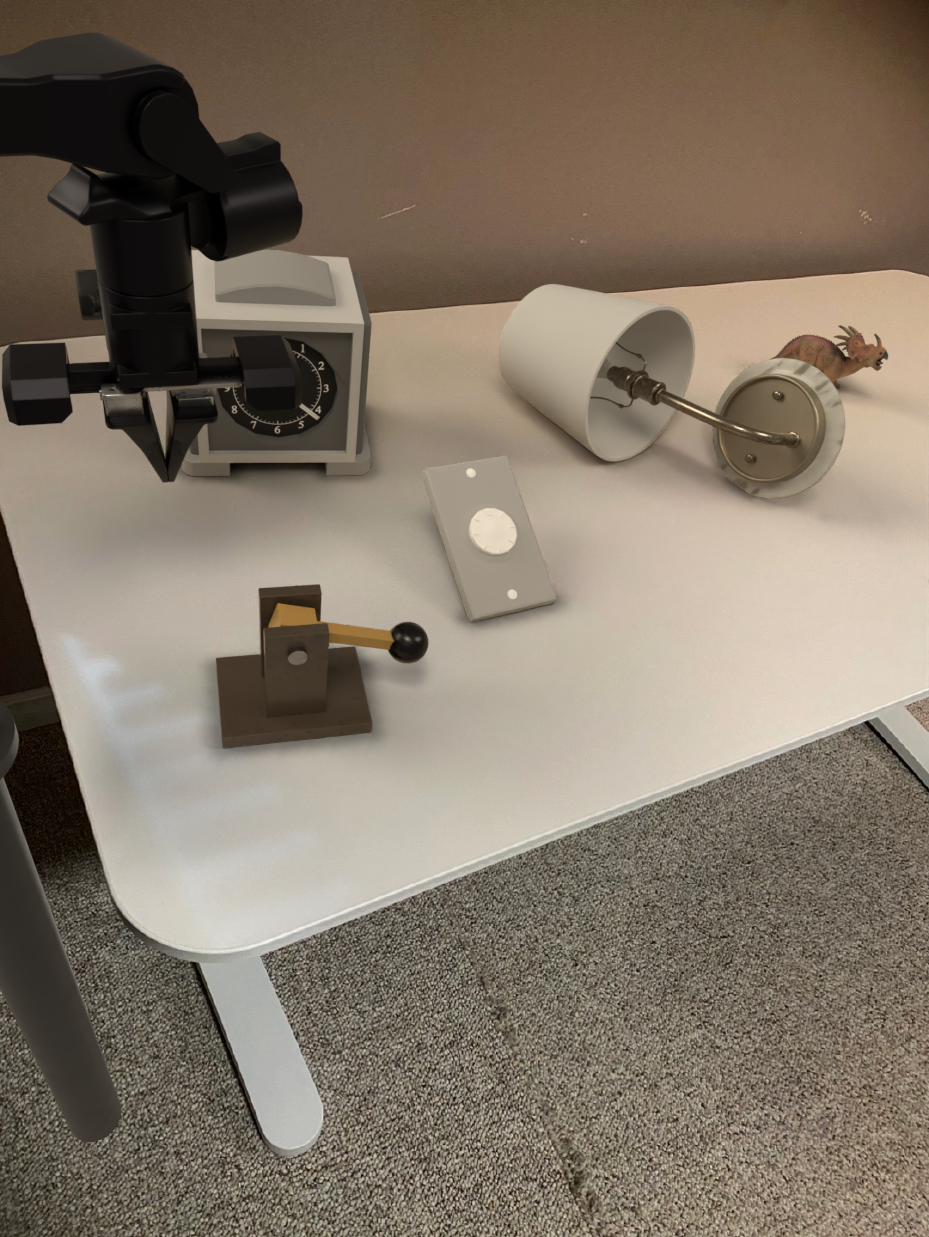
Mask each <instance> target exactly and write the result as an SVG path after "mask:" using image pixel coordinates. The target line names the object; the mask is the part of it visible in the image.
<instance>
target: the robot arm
mask: <svg viewBox="0 0 929 1237" xmlns="http://www.w3.org/2000/svg"><path fill="white" fill-rule="evenodd" d="M197 100H198V99H197V96H196V95H195V92H194V89H193V87H192V86H191V84H190V83H189V82H188V80H187V78H186V77H185V75H184V74H183V72H181V71H179V70H178V69H176V68H175V67H173V66H171V65H169V64H167V63H165V62H163V61H161V60H159V59H157V58H155V57H154V56H151V55H149V54H147V53H145V52H144V51H141V50H139V49H137V48H135V47H133V46H132V45H129V44H127V43H125V42H123V41H121V40H120V39H117V38H115V37H114V36H111V35H109V34H105V33H101V32H96V31H95V32H84V33H78V34H72V35H66V36H59V37H54V38H53V37H52V38H47V39H42V40H37V41H36V42H34V43H32V44H29V45H28V46H25V47H23V48H22V49H20V50H18V51H16V52H13V53H8V54H1V55H0V158H1V157H3V158H4V157H7V158H8V157H30V156H31V157H40V158H46V159H47V158H48V159H53V160H58V161H62V162H66V163H69V164H70V167H69V169H68V172H67V173H66V175H65V176H64V177H63V178H61V180H59V181H57V182H56V183H55V184H54V186H53V187H52V188H51V190H50V191H48V193H47V196H46V198H47V201H48V203H49V204H50V205H51V206H53V207H55V208H56V209H58V211H61V212H62V213H63V214H65V215H66V216H68V217H70V218H71V219H72V220H74V221H75V222H77V223H79V224H80V225H82V226H84V227H88V226H89V230H90V236H91V244H92V251H93V258H94V265H95V269H75V270H74V275H75V276H74V277H75V282H76V290H77V298H78V303H79V310H80V317H81V320H83V321H102V323H103V324H102V325H103V331H104V337H105V343H106V350H107V354H108V361H91V362H90V361H89V362H87V361H86V362H71V363H70V358H69V352H68V348H67V344H66V342H42V343H41V342H40V343H13V344H12V343H11V344H9V345H8V346H7V347H6V349H5V350H4V352H3V353H2V354H1V391H2V398H3V403H4V408H5V411H6V415H7V419H8V422H9V423H11V424H13V425H16V426H19V427H22V426H38V425H56V424H57V425H58V424H63V423H64V422H65V421H66V420H67V419H68V418H69V417H70V416H71V415H72V414H73V413H74V408H73V401H72V396H71V395H82V394H84V395H85V394H99V399H100V401H102V406H103V414H104V416H103V417H104V424H105V427H106V428H107V429H109V430H113V431H116V430H119V431H120V430H121V431H123V432H124V433H125V434H126V435H127V437H129V439H130V440H131V441H132V442H133V443H134V444H135V445H136V446H137V447H138V449H140V451H141V452H142V453H143V455H144V456H145V457H146V459H147V461H148V463H149V464H150V465H151V468H153V470H154V472H155V473H156V474H157V476H158V478H159V479H160V481H161V482H162V483H167V484H168V483H174V482H175V481H176V478H177V476H178V474H179V471H180V469H181V468H182V462H183V460H184V458H185V455H186V453H187V451H188V449H189V447H190V446H191V444H192V442H193V441H194V439H195V438H196V436H197V435H198V433H199V432H200V430H201V429H202V427H203V426H204V425H205V424H212V423H215V422H217V421H218V411H217V407H216V403H215V399H214V395H213V394H216V388H230V387H241V386H243V385H244V390H245V400H246V403H248V404H249V405H250V406H252V407H253V408H254V409H255V410H257V411H274V410H291V409H296V408H297V407H299V406H300V405H301V404H302V381H301V374H300V370H299V367H298V365H297V362H296V359H295V357H294V354H293V351H292V349H291V346H290V343H289V342H288V341H287V340H286V339H285V338H284V337H283V336H282V335H267V336H238V337H233V339H232V356H233V357H215V358H207V354H206V353H199V348H198V334H197V320H196V307H195V293H194V279H193V264H192V251H191V250H192V248H193V249H195V250H199V251H200V252H201V253H202V254H203V255H204V256H205V257H207V258H208V259H210V260H213V261H216V262H218V261H224V260H227V259H231V258H235V257H238V256H242V255H245V254H249V253H253V252H256V251H260V250H268V249H270V248H274V247H278V246H281V245H282V246H283V245H285V244H288V243H291V242H292V241H294V240H295V239H296V238H297V236H298V235H299V233H300V230H301V228H302V223H303V215H304V214H303V213H304V212H303V211H304V210H303V204H302V201H301V200H300V198H299V193H298V190H297V186H296V184H295V180H294V179H293V177H292V175H291V173H290V171H289V169H288V168H287V167H286V165H285V164H284V162H283V161H282V145H281V143H280V141H278V140H277V139H275V138H272V137H271V136H269V135H267V134H265V133H263V132H261V131H257V132H250V133H246V134H243V135H241V136H240V137H238V138H235V139H230V140H226V141H220V142H217V141H216V140H215V138H214V136H212V134H211V132H210V131H209V130H208V129H207V127H206V126H205V125H204V123H203V122H202V121H201V119H200V110H199V103H198V101H197ZM90 169H91V170H94V171H98V172H101V173H95V172H94V171H91V170H90ZM149 392H150V393H151V392H166V393H165V394H166V418H165V420H166V421H165V449H164V447H163V444H162V441H161V437H160V433H159V428H158V425H157V421H156V419H155V414H154V411H153V407H152V404H151V400H150V399H151V398H150V395H149Z"/></svg>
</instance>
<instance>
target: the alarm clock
mask: <svg viewBox="0 0 929 1237" xmlns="http://www.w3.org/2000/svg"><path fill="white" fill-rule="evenodd" d="M191 251H192V264H193V279H194V293H195V307H196V320H197V334H198V348H199V353H206V354H207V358H215V357H233V356H232V339H233V337H238V336H267V335H282V336H283V337H284V338H285V339H286V340H287V341H288V342H289V343H290V346H291V349H292V351H293V354H294V357H295V359H296V362H297V365H298V367H299V370H300V374H301V381H302V404H301V405H300V406H299V407H297V408H296V409H291V410H274V411H257V410H255V409H254V408H253V407H252V406H250V405H249V404H248V403H246V400H245V390H244V385H243V386H241V387H230V388H216V394H213V395H214V399H215V403H216V407H217V411H218V421H217V422H215V423H212V424H205V425H204V426H203V427H202V429H201V430H200V432H199V433H198V435H197V436H196V438H195V439H194V441H193V442H192V444H191V446H190V447H189V449H188V451H187V453H186V455H185V458H184V460H183V462H182V465H181V471H183V473H184V474H186V475H188V476H191V477H231V464H234V463H235V464H241V463H242V464H243V463H244V464H246V463H247V464H253V463H256V464H257V463H259V464H261V463H264V464H265V463H266V464H267V463H272V464H273V463H275V464H276V463H277V464H279V463H282V464H283V463H289V464H291V463H294V464H295V463H298V464H299V463H324V467H325V474H326V476H363V475H366V474H368V473H369V471H370V470H371V465H372V463H371V462H372V453H371V449H370V445H369V438H368V435H367V434H368V433H367V430H366V425H365V420H366V406H367V392H368V380H369V367H370V366H369V365H370V354H371V352H370V351H371V338H372V337H371V336H372V324H373V322H372V319H371V315H370V311H369V308H368V303H367V300H366V295H365V291H364V288H363V284H362V279H361V276H360V272H352V268H351V264H350V260H349V257H345V256H344V257H343V256H325V255H324V256H323V255H306V254H301V253H299V252H298V253H297V252H294V251H288V250H287V251H286V250H278V249H264V250H260V251H256V252H253V253H249V254H245V255H242V256H238V257H235V258H231V259H227V260H224V261H218V262H216V261H213V260H210V259H208V258H207V257H205V256H204V255H203V254H202V253H201V252H200V251H199V250H198V249H191Z"/></svg>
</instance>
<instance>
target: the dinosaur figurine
mask: <svg viewBox="0 0 929 1237" xmlns="http://www.w3.org/2000/svg"><path fill="white" fill-rule="evenodd" d="M838 328H840V329H841V330H843V332H845V333H846V334H847V335H841V334H840V335H838V334H837V335H834V336H833V338H835V339H838V340H842V342H839V343H836V344H835V343H834V342H833V340H830V339H828V338H826V337H824V336H820V335H815V334H801V335H797V336H796V337H794V338H792V340H790V341H788V342H787V343H786V344H785V345H784V346H783V347H782V348H781V350H780V351H779V352H778V353H777V354H776V355H774V356H773V357H771V358H769V359H768V360H770V359H776V358H789V359H796V360H800V361H803V362H806V363H808V364H810V365H812V366H814V367H816V368H817V369H819V370H820V371H821V372H823V373H824V374H825V375H826V376H827V377H828V378H829V379H830V380H831V382H832V383H833V384H834V386H835V387H836V389H841V388H842V387H841V384H840V383H838V382H837V381H838V380H839V379H842V378H845V377H848V376H851V375H854V374H856V373H857V372H858V371H860V370H862V369H863V368H866V369H867V368H871V369H873V370H874V371H876V372H877V371H880V370H881V369H882V368H883V366H882V365H883V364H884V362H883V360H886V361H888V360H889V353H888V351H887V349H886V348H885V347H884V346H883V343H882V340H881V337H880V336H879V335H878V334H877V333H874V334H873V336H874V337H875V339H876V346H875V344H874V343H867V344H866V341H865V338H864V336H863V335H862V332H859V331H858V330H857V329H856V328H855V327H853V326H851V325H848V327H845V326H843V325H840V324H839V325H838ZM840 347H842V349H841V348H840ZM844 351H845V352H846V353H847V356H846V355H845V353H844Z"/></svg>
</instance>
